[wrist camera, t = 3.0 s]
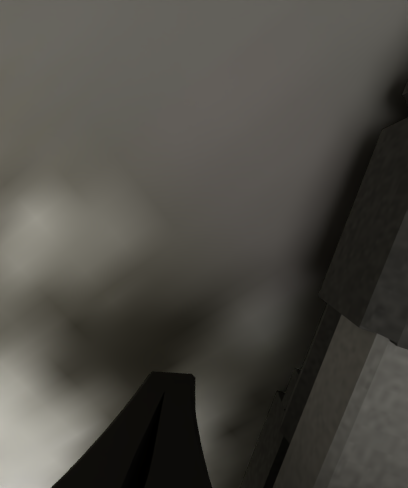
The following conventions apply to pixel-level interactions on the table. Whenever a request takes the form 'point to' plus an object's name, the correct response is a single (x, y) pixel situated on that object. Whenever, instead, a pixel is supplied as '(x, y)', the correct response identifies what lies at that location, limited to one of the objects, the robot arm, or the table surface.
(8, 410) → the table surface
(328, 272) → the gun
